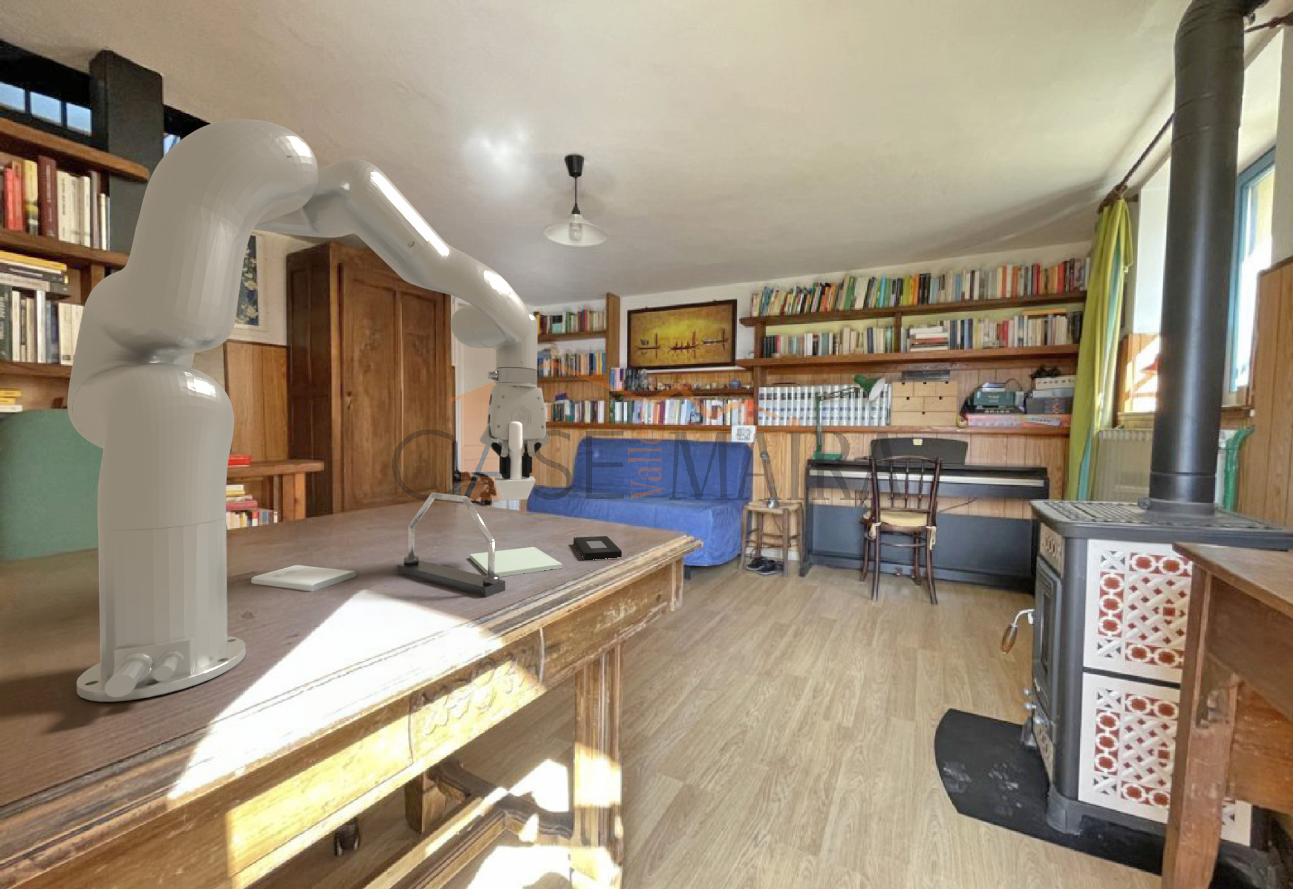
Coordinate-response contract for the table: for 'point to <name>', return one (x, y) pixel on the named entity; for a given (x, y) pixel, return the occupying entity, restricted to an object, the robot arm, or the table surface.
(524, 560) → the mat
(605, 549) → the vhs tape
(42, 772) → the table surface
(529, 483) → the figurine
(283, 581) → the external hard drive
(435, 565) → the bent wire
